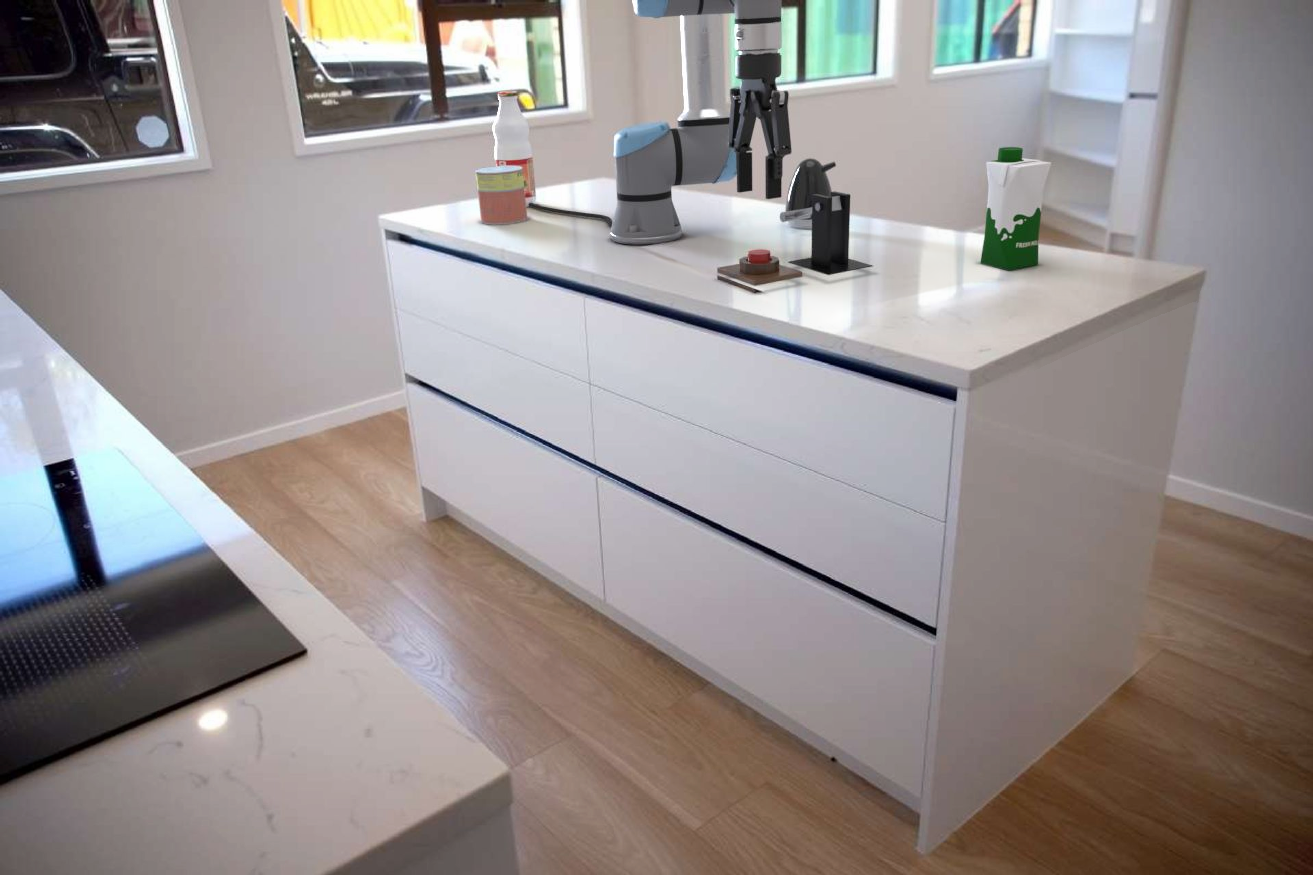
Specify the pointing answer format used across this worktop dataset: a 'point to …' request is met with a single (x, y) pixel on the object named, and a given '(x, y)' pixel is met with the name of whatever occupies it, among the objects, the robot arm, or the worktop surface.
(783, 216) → the tap lever
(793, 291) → the worktop surface
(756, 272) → the button box
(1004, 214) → the milk carton
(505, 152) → the fruit juice
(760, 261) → the button
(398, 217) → the worktop surface
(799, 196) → the pump dispenser
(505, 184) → the canned food
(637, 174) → the robot arm
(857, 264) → the black lever stand
